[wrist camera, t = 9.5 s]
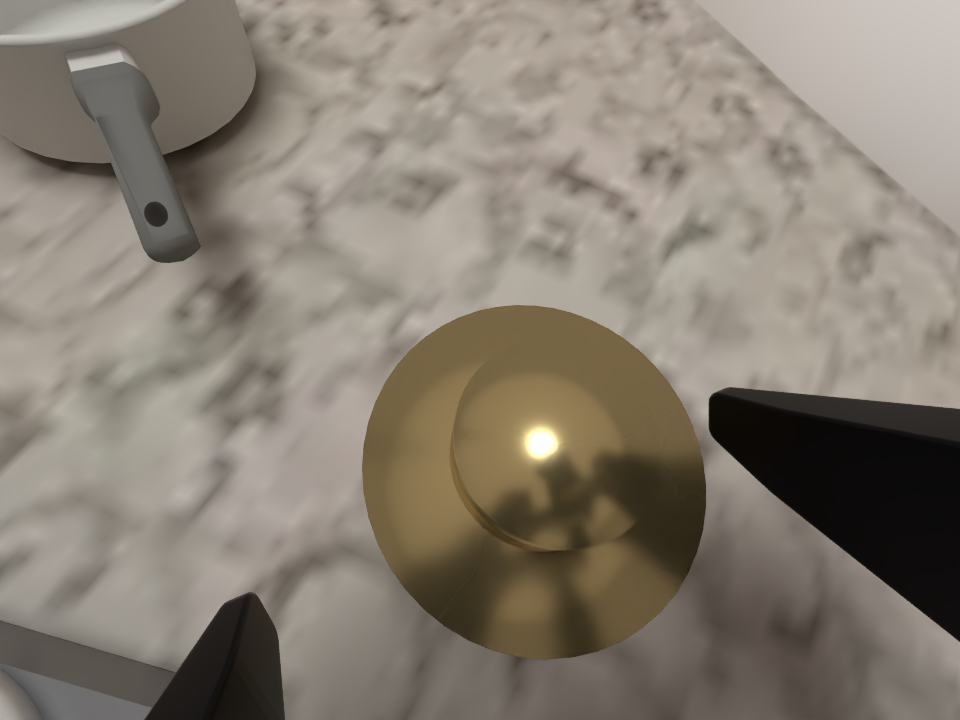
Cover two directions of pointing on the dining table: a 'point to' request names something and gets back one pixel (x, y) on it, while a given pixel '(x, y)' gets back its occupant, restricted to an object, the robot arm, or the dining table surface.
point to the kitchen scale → (72, 680)
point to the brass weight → (534, 482)
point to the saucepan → (125, 93)
